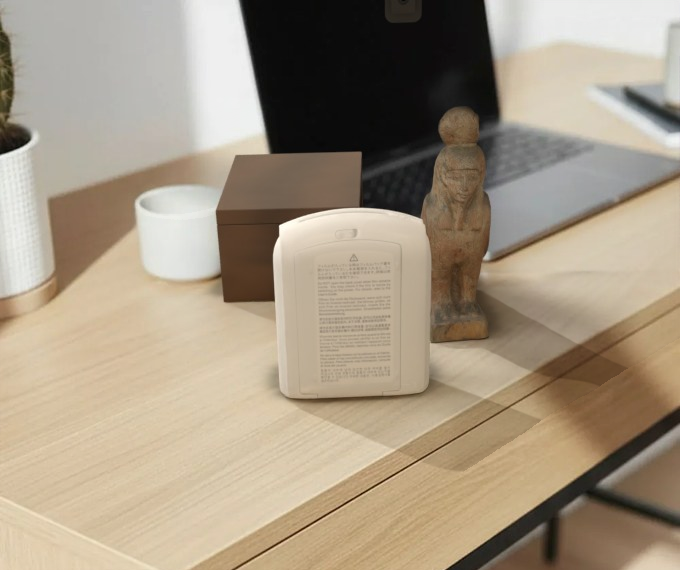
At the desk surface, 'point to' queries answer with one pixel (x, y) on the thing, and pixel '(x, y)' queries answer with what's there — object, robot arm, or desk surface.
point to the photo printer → (352, 304)
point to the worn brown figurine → (457, 229)
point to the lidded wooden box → (276, 211)
